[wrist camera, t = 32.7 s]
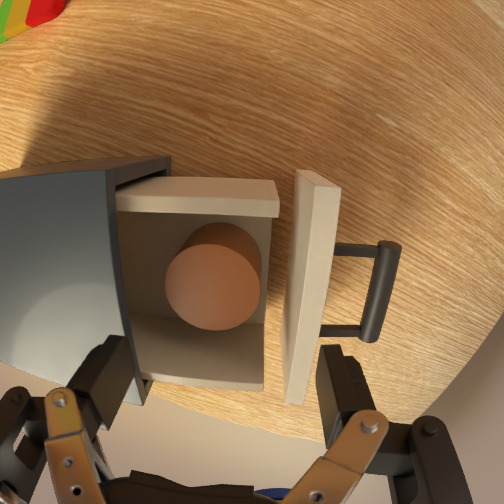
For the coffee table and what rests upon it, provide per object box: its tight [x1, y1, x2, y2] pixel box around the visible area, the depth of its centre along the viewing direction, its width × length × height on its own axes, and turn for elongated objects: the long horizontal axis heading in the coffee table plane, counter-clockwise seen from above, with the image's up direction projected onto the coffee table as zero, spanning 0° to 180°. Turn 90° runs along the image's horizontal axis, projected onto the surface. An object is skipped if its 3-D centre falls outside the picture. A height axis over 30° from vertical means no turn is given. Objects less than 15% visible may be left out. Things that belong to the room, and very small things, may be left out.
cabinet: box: [0, 156, 171, 406], centre depth 19 cm, size 16×14×10 cm
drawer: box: [115, 169, 402, 404], centre depth 18 cm, size 20×13×8 cm
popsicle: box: [0, 0, 66, 43], centre depth 14 cm, size 6×15×2 cm, turn 87°
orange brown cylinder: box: [164, 222, 261, 331], centre depth 19 cm, size 6×6×4 cm
